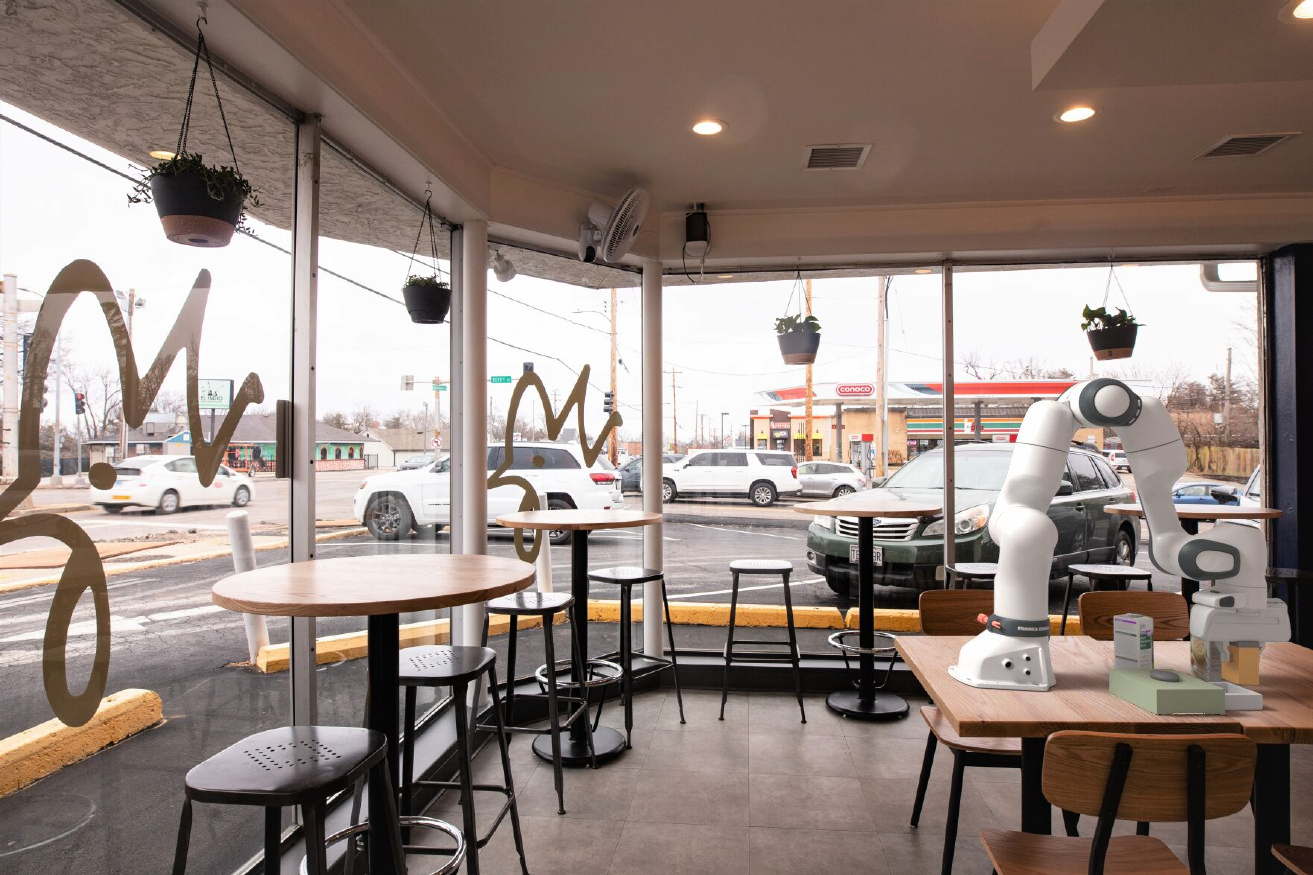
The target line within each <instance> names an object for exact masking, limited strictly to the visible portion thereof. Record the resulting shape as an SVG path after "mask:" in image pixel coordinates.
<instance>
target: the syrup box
mask: <svg viewBox="0 0 1313 875" xmlns="http://www.w3.org/2000/svg"><path fill="white" fill-rule="evenodd" d="M1154 646H1155V645H1154V618H1153V617H1151V616H1148V615H1143V614H1137V613H1125V614H1123V613H1122V614H1119V615H1118V614H1117V615H1116V614H1115V615H1113V651H1114V652H1113V654H1114V655H1113V656H1114V658H1113V659H1114V661H1113V662H1114V669H1155V654H1154V653H1155V651H1154V648H1155V647H1154Z"/></svg>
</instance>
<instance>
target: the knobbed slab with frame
mask: <svg viewBox="0 0 1313 875" xmlns="http://www.w3.org/2000/svg"><path fill="white" fill-rule="evenodd" d="M1108 671H1109V672H1108V674H1109V677H1108V678H1109V680H1108V685H1109V686H1108V688H1109V691H1108V692H1109V694H1112V695H1113V696H1116V697H1117V698H1119V699H1122V700H1124V701H1126V702H1128V703H1131V704H1132V705H1134V704H1135V706H1137V707H1139V708H1140V709H1143V710H1145V711H1147V712H1148V713H1151V712H1153V713H1154V715H1155V714H1157V715H1156V716H1160V715H1159V714H1173V713H1203V714H1204V713H1205V714H1220V715H1219V716H1223V715H1224V716H1225V715H1226V711H1239V710H1240V711H1255V710H1256V711H1258V710H1259V711H1261V710H1262V711H1263V705H1264V704H1263V703H1264V702H1263V694H1261V693H1259V692H1256V691H1254V690H1250V689H1249V688H1248V689H1247V688H1245V687H1243V686H1240V685H1238V684H1232V683H1229V682H1208V681H1206V680H1202V679H1199V678H1197V677H1194V676H1192V675H1188V674H1186V673H1184V672H1181V671H1178V670H1175V669H1174V668H1154V669H1115V668H1109V670H1108ZM1153 713H1152V714H1153Z"/></svg>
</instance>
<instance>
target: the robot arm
mask: <svg viewBox="0 0 1313 875" xmlns="http://www.w3.org/2000/svg"><path fill="white" fill-rule="evenodd" d="M1102 428H1108V429H1111V430H1112V431H1113V432H1114V433H1115V434H1116V436H1117V437H1118V438H1119V440H1120V443H1121V447H1122V450H1123V452H1124V455H1125V458H1126V460H1127V463H1128V465H1129V469H1130V471H1131V473H1132V476H1133V480H1134V483H1135V487H1136V490H1137V495H1138V499H1139V502H1140V506H1141V509H1142V513H1143V515H1144V520H1145V524H1146V527H1147V530H1148V547H1147V553H1148V558H1149V560H1150V563H1151V564H1152V565H1153V567H1154V568H1155V569H1157V570H1158V571H1159V572H1161V573H1163V574H1165V575H1168V576H1169V575H1170V576H1177V577H1181V578H1185V579H1189V580H1193V581H1196V582H1207V581H1208V582H1209V581H1214V586H1213V585H1212V586H1210V587H1208V588H1205V589H1202V590H1199V591H1195V592H1194V593H1192V595H1191V597H1192V598H1191V600H1192V602H1193V603H1195V604H1193V605H1194V606H1193V607H1192V609H1191V615H1190V614H1189V617H1190V618H1189V632H1190V633H1191V635H1192V636H1193V637H1194V638H1196V639H1199V640H1202V641H1215V645H1216V646H1217V648H1218V650H1219V651H1220V652H1221V661H1223V662H1233V661H1234V660H1233V658H1234V655H1233V654H1230V653H1229V651H1228V649H1227V647H1229V642H1236V641H1257V642H1260V648H1259V663H1260V662H1261V655H1262V653H1263V652H1264V650H1265V649H1266V647H1267V646H1266V643H1288V642H1289V641H1290V640H1291V637H1292V630H1291V623H1290V616H1289V613H1288V605H1287V603H1286V602H1285V601H1283V600H1282V599H1281V598H1278V597H1274V598H1273V597H1272V598H1269V597H1268V583H1267V581H1266V570H1267V568H1268V549H1267V548H1268V547H1267V540H1266V536H1265V533H1264V532H1263V530H1261V528H1259V527H1257V526H1255V525H1250V524H1245V523H1240V522H1235V521H1228V520H1227V521H1221V522H1220V523H1219V524H1217V525H1216V526H1214V527H1212V528H1210V529H1207V530H1206V531H1203V532H1200V533H1196V534H1195V533H1194V535H1193V534H1189V533H1188V532H1187V531H1186V530H1185V529H1184V528H1183V526H1181V522H1180V519H1179V516H1178V512H1177V509H1176V505H1175V502H1174V498H1173V488H1174V485H1175V484H1176V482H1178V481H1179V480H1180V479H1181V478H1182V477H1183V476H1184V475H1185V473H1186V471H1187V469H1188V467H1189V461H1188V454H1187V449H1186V446H1185V444H1184V441H1183V439H1182V436H1181V432H1180V431H1179V429H1178V427H1177V424H1176V423H1175V421H1174V419H1173V417H1172V415H1171V414H1170V412H1169V410H1168V408H1166V406H1165V405H1164V403H1163V402H1162V401H1161V399H1159V398H1156V397H1155V396H1147V395H1143V396H1139V395H1138V394H1137V393H1135V392H1134V391H1133V390H1132V389H1131V387H1130V386H1128V385H1127V384H1126V383H1124V382H1123V381H1121V380H1119V379H1116V378H1112V377H1111V378H1110V377H1100V378H1096V379H1095V378H1093V379H1086V380H1082V381H1080V382H1078V383H1075V384H1072V385H1070V386H1069V387H1067V388H1066V389H1064V390H1063V391H1062V393H1061V394H1060V395H1059V396H1057V397H1056V399H1054V400H1053V399H1043V400H1039V401H1036V402H1034V403H1032V404H1031V405H1030V406H1029V408H1028V409H1027V411H1026V414H1025V416H1024V418H1023V420H1022V423H1021V424H1020V428H1019V430H1018V433H1017V436H1016V440H1015V445H1014V447H1013V451H1012V456H1011V460H1010V463H1009V467H1008V472H1007V475H1006V478H1005V480H1004V483H1003V484H1002V487H1001V489H1000V492H999V494H998V496H997V499H996V502H995V504H994V507H993V510H992V513H991V515H990V517H989V520H988V524H987V527H988V533H989V536H990V538H991V539H992V541H993V542H994V543H995V544H996V545H997V546H998V547H999V557H998V563H997V569H996V572H995V575H994V579H993V585H994V586H993V587H994V588H993V612H992V614H991V615H990V616H988V615H986V614H984V613H979V614H978V616H977V621H978V622H979V623H981V624H984V625H986V629H985V630H983V631H982V632H980V633H979V634H978V635H977V636H975V637H973V638H972V639H971V640H969V641H968V642H967V643H964V644H963V645H962V646H961V649H960V652H959V656H958V663H957V665H956V664H955V665H949V666H948V668H947V672H948V674H949V675H950V676H951V677H952V678H953V679H955V680H957V681H959V682H961V683H963V684H966V685H969V686H972V687H975V688H980V689H981V688H983V689H1001V690H1003V689H1005V690H1021V691H1023V690H1024V691H1036V692H1037V691H1038V692H1039V691H1041V692H1046V691H1049V690H1050V687H1053V686H1055V685H1056V684H1057V679H1056V676H1055V674H1054V669H1053V666H1052V659H1051V653H1050V641H1051V640H1050V638H1051V619H1050V617H1049V581H1050V574H1051V570H1052V564H1053V561H1054V560H1053V558H1054V554H1055V553H1054V551H1055V548H1056V546H1057V543H1058V541H1059V532H1058V528H1057V526H1056V525H1055V523H1054V522H1053V520H1052V519H1051V518H1050V517H1049V516H1048V515H1047V513H1048V510H1049V508H1050V506H1051V503H1052V501H1053V499H1054V498H1055V496H1056V494H1057V493H1058V491H1059V490H1060V488H1061V485H1062V482H1063V478H1064V473H1065V470H1066V466H1067V461H1068V457H1069V455H1070V450H1071V444H1072V440H1073V439H1074V437H1075V435H1076V433H1077V432H1078V431H1079V430H1080V429H1091V430H1092V429H1093V430H1094V429H1096V430H1097V429H1102ZM1226 646H1227V647H1226Z"/></svg>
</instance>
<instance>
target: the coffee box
mask: <svg viewBox="0 0 1313 875" xmlns="http://www.w3.org/2000/svg"><path fill="white" fill-rule="evenodd" d="M1194 605H1195V604H1190V607H1189V608H1190V609H1189V610H1190V611H1189V612H1190V613H1189V616H1190V615H1191V609H1192V607H1193V606H1194ZM1189 637H1190V642H1189V643H1190V644H1189V647H1190V649H1189V650H1190V657H1189V658H1190V659H1189V661H1190V666H1189V667H1190V672H1191V673H1192V674H1194V675H1196V676H1198V677H1199V678H1201V679H1203V681H1205V682H1229V683H1232V684H1235V685H1237V686H1240V684H1236V683H1234V682H1231V681H1228V680H1225V679H1223V678H1221V671H1222V661H1221V652H1220V651H1219V650H1218V648H1217V646H1216V645H1215V641H1202V640H1199V639H1196V638H1194V637H1193V636H1192V635H1191V633H1190V636H1189Z"/></svg>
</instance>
